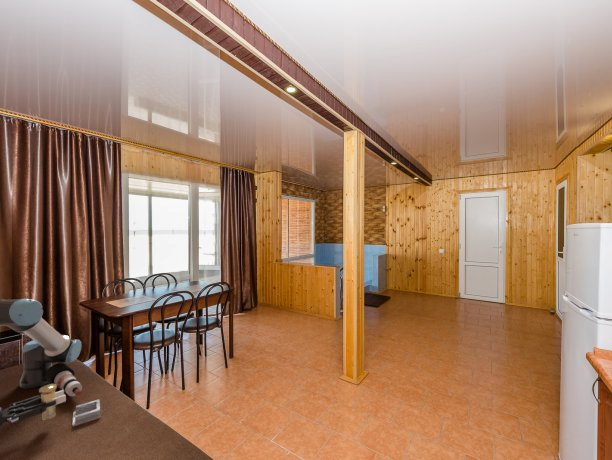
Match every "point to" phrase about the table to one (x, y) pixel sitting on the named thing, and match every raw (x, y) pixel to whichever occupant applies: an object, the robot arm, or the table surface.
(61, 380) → the cable
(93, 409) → the keeper bracket
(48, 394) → the end pin
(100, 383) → the table surface
